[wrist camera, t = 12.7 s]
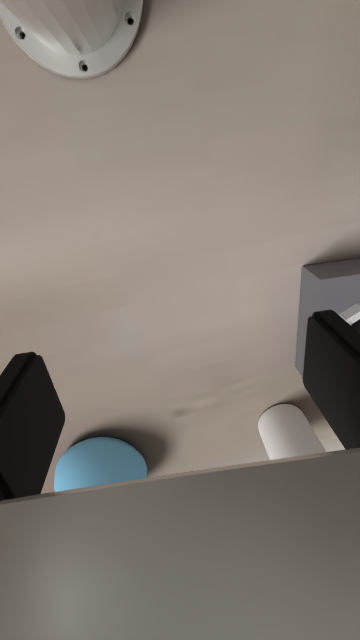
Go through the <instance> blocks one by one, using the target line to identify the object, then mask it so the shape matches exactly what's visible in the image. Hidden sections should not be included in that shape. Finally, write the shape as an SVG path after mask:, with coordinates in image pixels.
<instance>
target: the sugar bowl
mask: <svg viewBox="0 0 360 640" xmlns="http://www.w3.org/2000/svg"><path fill="white" fill-rule="evenodd" d="M143 478H147V466H146V463H145V460H144V458H143V457H142V455H141V454H140V453H139V452H138V451H137V450H136V449H135V448H134V447H132V446H131V445H130V444H128V443H126V442H124V441H122V440H119V439H116V438H111V437H94V438H90V439H86V440H84V441H81V442H79V443H77V444H75V445H74V446H72V447H71V448H69V449H68V450H67V451H66V452H65V453H64V454H63V455H62V456H61V458H60V459H59V461H58V463H57V466H56V470H55V478H54V489H55V492H57V491H64V490H70V489H77V488H83V487H90V486H97V485H103V484H110V483H116V482H123V481H129V480H136V479H143Z"/></svg>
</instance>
